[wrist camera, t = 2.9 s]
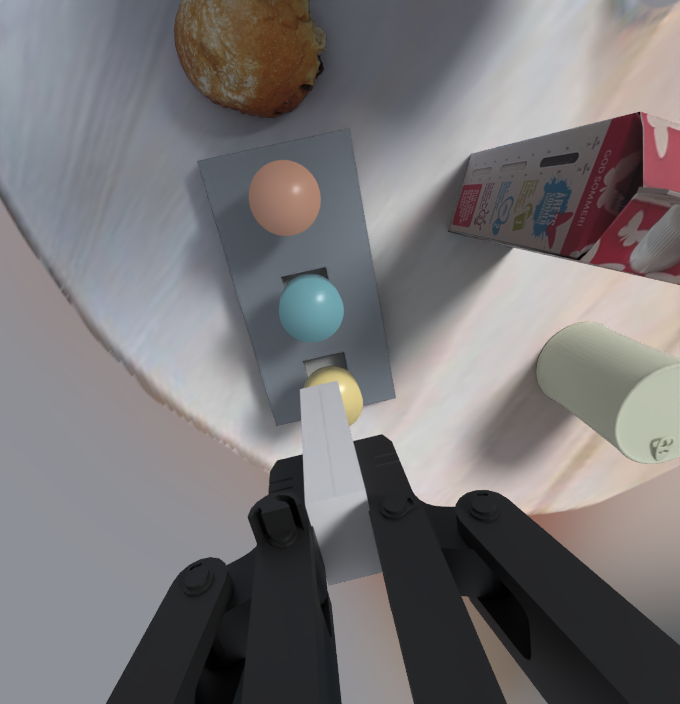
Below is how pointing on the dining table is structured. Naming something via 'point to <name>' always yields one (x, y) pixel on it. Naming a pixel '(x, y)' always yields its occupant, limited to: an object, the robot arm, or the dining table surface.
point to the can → (616, 389)
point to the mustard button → (346, 385)
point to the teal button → (310, 308)
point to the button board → (302, 267)
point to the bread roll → (250, 52)
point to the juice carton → (583, 196)
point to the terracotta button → (284, 198)
